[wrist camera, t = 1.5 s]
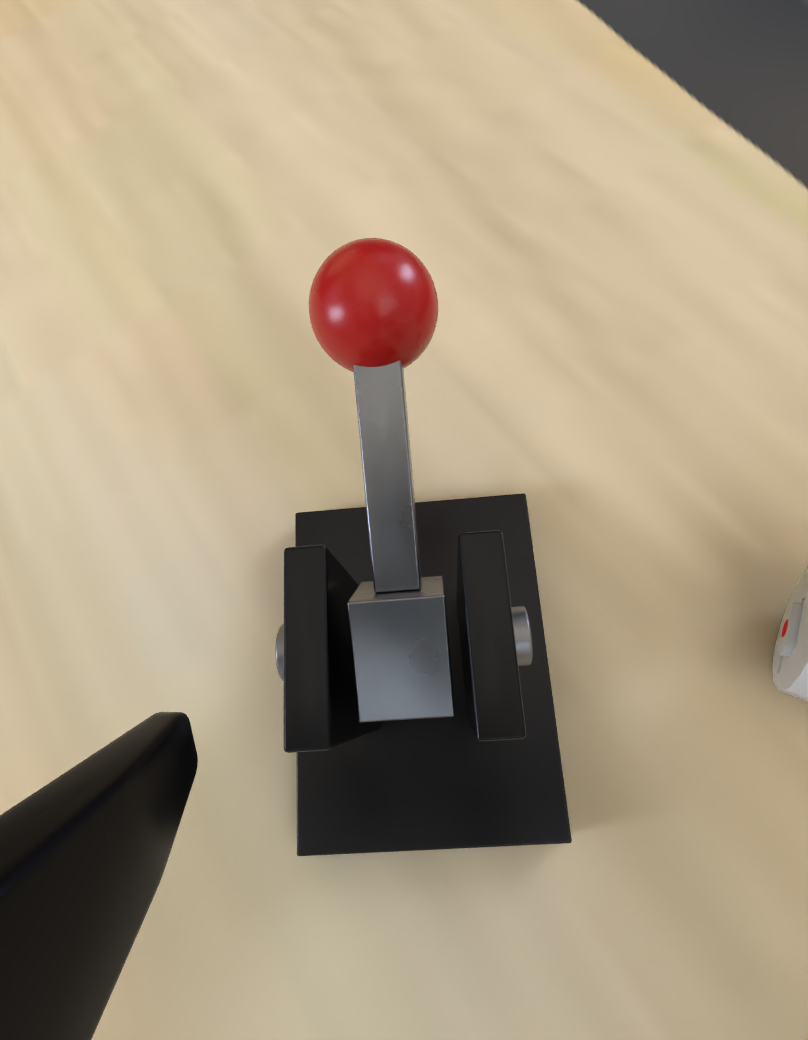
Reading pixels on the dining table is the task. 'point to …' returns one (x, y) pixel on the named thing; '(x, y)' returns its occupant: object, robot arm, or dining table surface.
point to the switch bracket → (429, 741)
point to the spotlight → (793, 644)
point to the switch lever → (387, 476)
